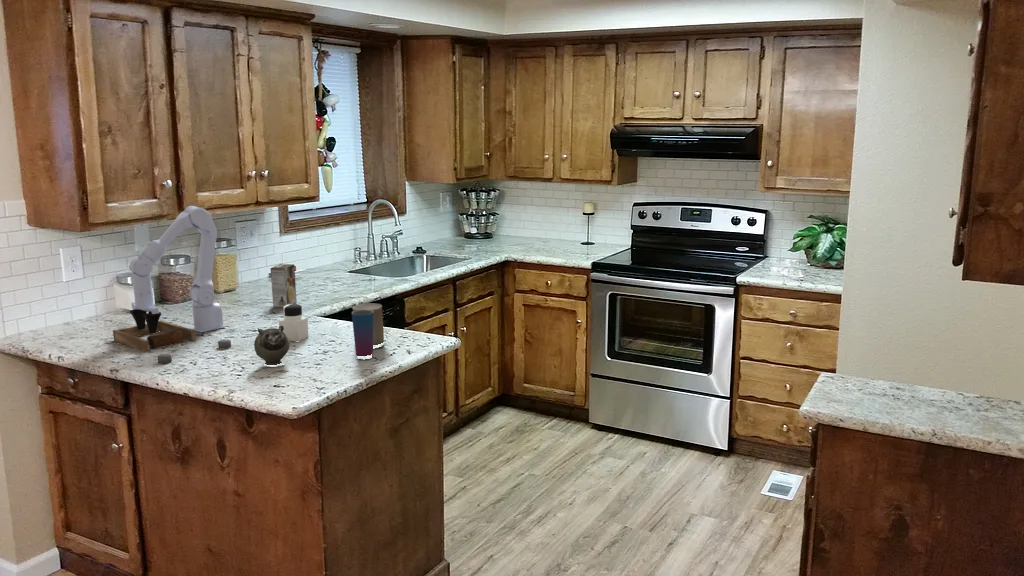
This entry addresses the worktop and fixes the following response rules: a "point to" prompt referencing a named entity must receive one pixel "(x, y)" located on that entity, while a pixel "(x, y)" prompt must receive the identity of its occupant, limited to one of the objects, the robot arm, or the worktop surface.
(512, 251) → the worktop surface
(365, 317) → the cup
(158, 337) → the brick
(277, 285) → the coffee box
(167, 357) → the puck left
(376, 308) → the pillar candle
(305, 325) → the medicine bottle
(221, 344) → the puck right
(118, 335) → the wooden frame
